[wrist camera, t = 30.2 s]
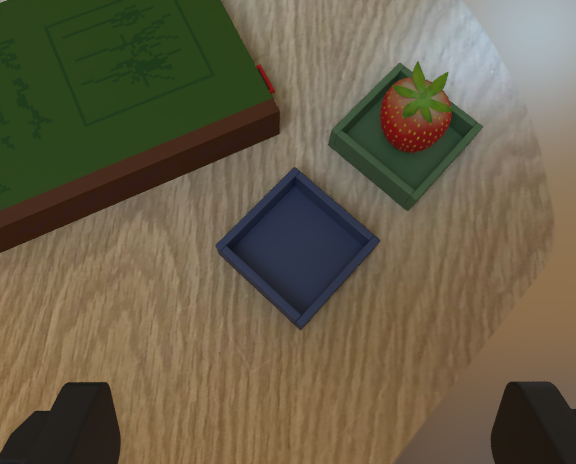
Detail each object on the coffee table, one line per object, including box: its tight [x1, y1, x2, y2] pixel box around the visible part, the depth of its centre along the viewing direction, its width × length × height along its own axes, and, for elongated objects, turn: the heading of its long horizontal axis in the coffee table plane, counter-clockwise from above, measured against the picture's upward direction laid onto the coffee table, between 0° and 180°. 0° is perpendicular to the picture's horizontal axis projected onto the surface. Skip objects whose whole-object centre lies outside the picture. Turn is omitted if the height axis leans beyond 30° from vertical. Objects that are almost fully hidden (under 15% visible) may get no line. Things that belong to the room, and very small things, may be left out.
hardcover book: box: [0, 0, 280, 253], centre depth 40 cm, size 25×19×4 cm
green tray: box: [328, 63, 483, 211], centre depth 40 cm, size 9×9×3 cm
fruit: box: [380, 62, 454, 153], centre depth 37 cm, size 5×5×8 cm
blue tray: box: [216, 167, 380, 330], centre depth 37 cm, size 9×9×3 cm
